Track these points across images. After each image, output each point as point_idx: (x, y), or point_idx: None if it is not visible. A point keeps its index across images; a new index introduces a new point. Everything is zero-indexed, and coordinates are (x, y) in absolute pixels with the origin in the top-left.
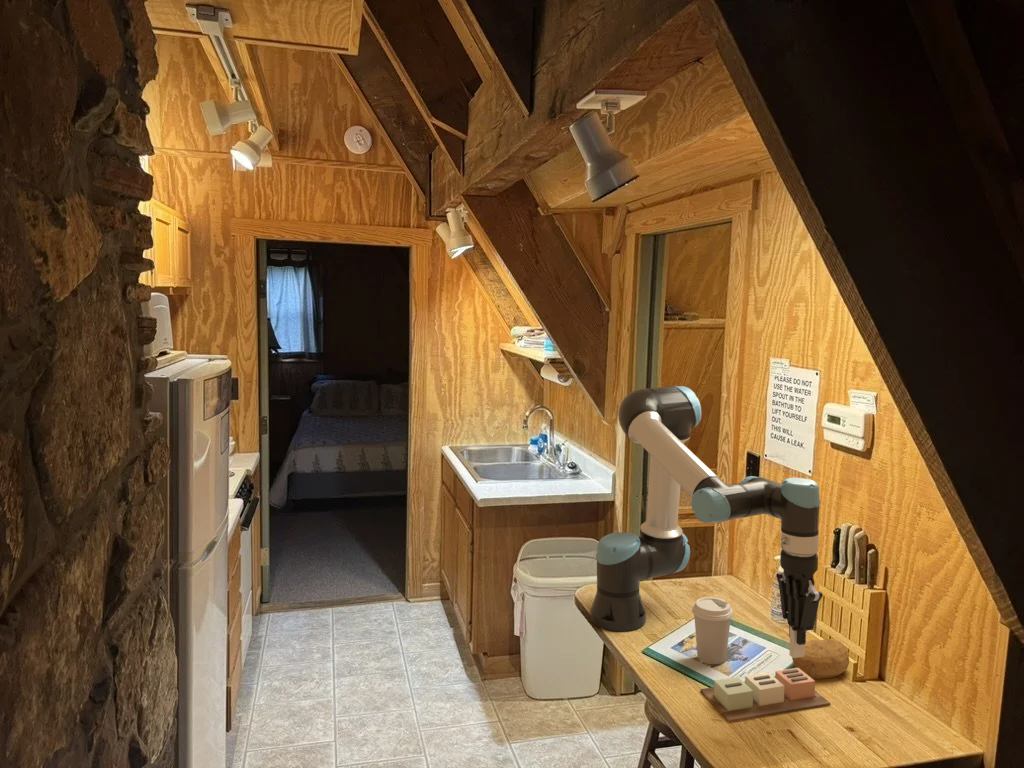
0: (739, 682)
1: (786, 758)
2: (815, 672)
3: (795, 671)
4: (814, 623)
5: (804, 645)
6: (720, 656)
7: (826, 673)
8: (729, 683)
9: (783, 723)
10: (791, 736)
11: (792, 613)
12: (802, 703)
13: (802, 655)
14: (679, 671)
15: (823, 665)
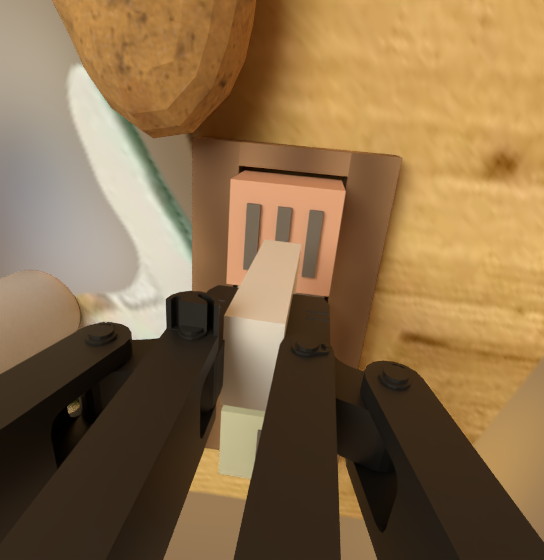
0: (257, 434)
1: (491, 415)
2: (235, 76)
3: (259, 220)
4: (461, 431)
5: (296, 267)
6: (55, 330)
7: (252, 23)
8: (246, 451)
9: (375, 328)
10: (432, 349)
11: (185, 490)
12: (359, 253)
13: (299, 258)
14: (74, 401)
15: (238, 29)
